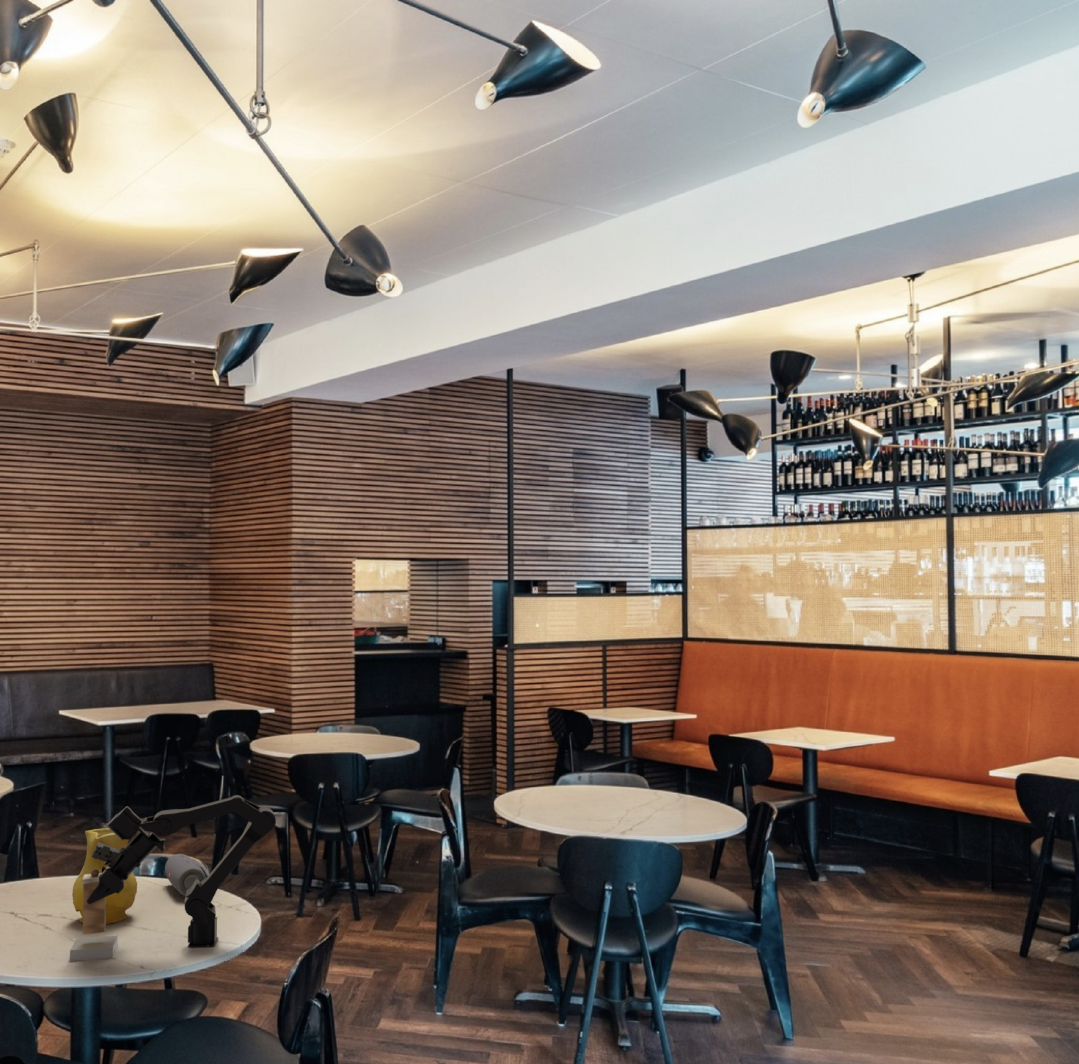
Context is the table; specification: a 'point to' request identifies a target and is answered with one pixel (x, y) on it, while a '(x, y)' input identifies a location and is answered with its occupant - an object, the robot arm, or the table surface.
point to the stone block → (94, 948)
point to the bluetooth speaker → (183, 872)
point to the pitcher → (114, 902)
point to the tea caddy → (93, 905)
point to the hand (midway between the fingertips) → (88, 900)
